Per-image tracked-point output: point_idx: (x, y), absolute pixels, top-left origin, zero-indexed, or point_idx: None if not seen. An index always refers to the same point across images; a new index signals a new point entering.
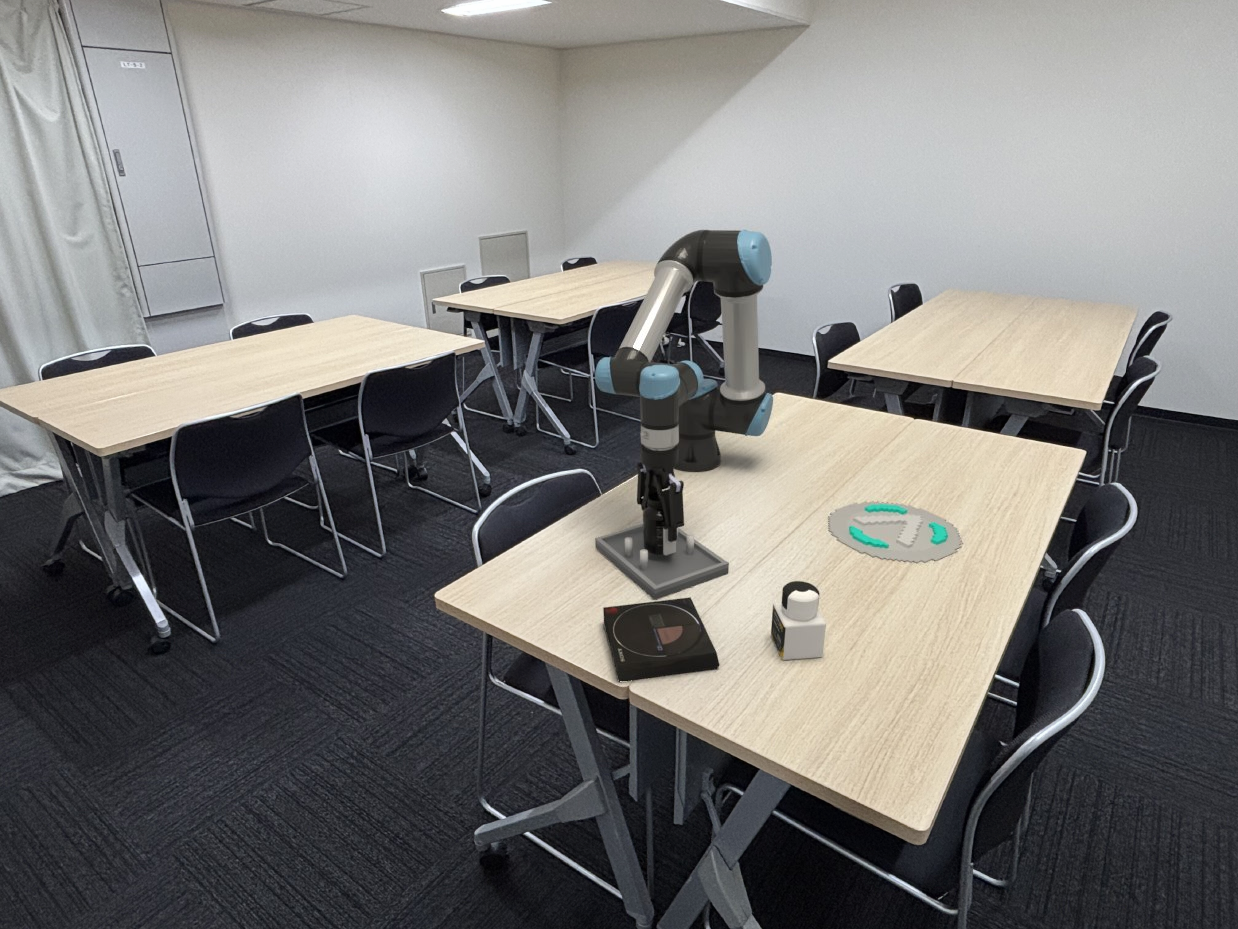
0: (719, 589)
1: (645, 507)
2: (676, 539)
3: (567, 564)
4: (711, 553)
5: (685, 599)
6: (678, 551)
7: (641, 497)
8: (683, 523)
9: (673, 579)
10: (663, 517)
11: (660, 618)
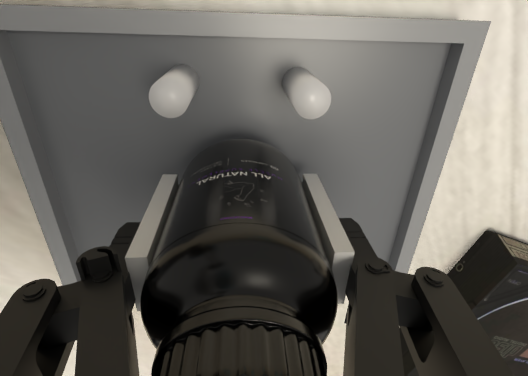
0: (487, 112)
1: (133, 329)
2: (354, 221)
3: (139, 343)
4: (389, 33)
5: (511, 276)
6: (263, 114)
7: (57, 373)
8: (453, 288)
9: (406, 238)
10: (327, 336)
11: (504, 340)
